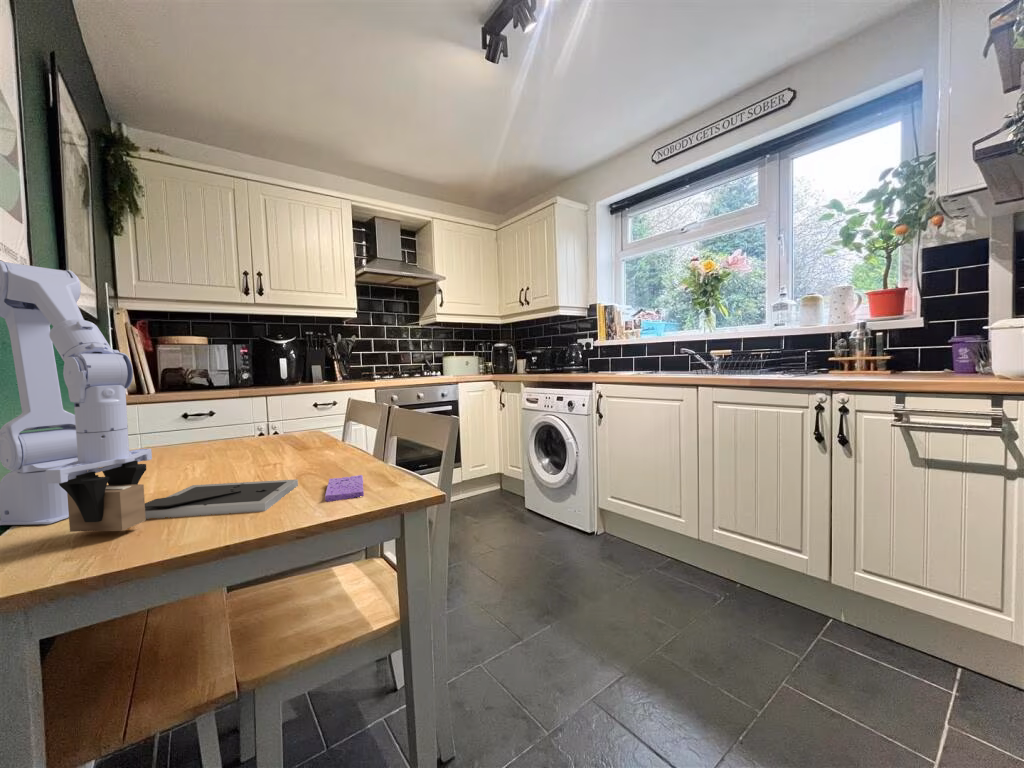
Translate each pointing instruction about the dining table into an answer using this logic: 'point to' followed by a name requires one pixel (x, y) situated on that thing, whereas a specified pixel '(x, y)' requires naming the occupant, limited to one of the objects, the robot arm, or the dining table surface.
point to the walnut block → (112, 510)
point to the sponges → (344, 488)
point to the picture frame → (220, 499)
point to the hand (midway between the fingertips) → (108, 515)
